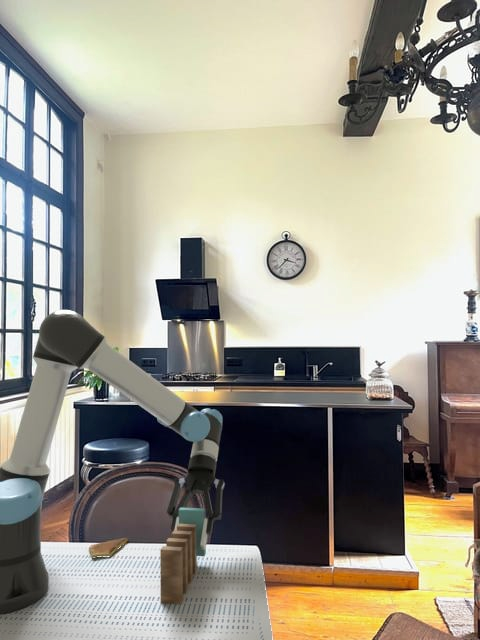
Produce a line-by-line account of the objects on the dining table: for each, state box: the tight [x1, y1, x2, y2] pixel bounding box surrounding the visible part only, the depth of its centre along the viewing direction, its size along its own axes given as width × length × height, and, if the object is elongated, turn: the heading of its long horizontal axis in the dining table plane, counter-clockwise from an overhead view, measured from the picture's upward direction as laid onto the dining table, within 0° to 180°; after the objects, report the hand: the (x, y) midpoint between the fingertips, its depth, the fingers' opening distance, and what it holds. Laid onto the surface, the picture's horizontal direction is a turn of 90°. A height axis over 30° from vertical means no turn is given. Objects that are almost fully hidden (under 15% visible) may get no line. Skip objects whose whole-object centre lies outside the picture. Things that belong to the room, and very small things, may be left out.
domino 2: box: [177, 524, 198, 576], centre depth 106 cm, size 4×2×11 cm, turn 81°
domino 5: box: [159, 545, 184, 605], centre depth 94 cm, size 4×2×11 cm, turn 81°
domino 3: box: [171, 531, 193, 585], centre depth 102 cm, size 4×2×11 cm, turn 81°
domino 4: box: [165, 537, 189, 595], centre depth 98 cm, size 4×2×11 cm, turn 81°
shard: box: [88, 536, 130, 559], centre depth 118 cm, size 11×8×2 cm
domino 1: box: [179, 507, 207, 557], centre depth 110 cm, size 6×2×11 cm, turn 81°
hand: (188, 546), depth 107 cm, fingers closed on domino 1, 6 cm apart
